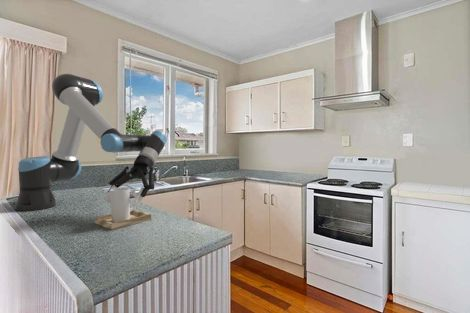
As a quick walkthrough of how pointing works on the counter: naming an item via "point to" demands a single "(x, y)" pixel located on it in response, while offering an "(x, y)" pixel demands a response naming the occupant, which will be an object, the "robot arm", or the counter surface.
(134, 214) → the keeper tray
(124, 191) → the mug
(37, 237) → the counter surface
